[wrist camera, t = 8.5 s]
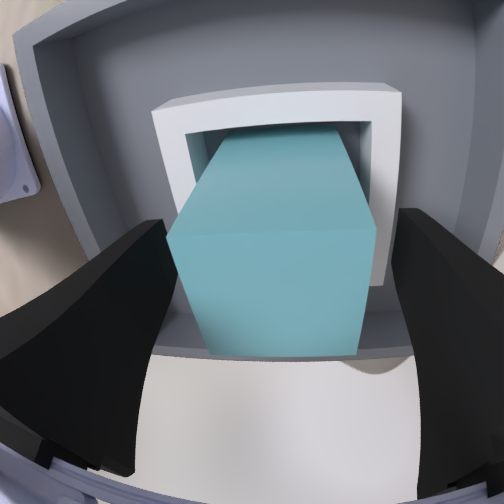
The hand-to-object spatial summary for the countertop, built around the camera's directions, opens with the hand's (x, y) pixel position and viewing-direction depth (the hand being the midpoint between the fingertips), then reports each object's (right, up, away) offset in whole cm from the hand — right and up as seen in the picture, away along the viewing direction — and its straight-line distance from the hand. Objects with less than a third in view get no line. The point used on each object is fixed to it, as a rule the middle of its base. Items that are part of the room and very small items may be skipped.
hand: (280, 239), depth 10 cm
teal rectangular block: (+1, +3, +3) cm, 4 cm away
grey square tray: (+1, +3, +4) cm, 5 cm away
